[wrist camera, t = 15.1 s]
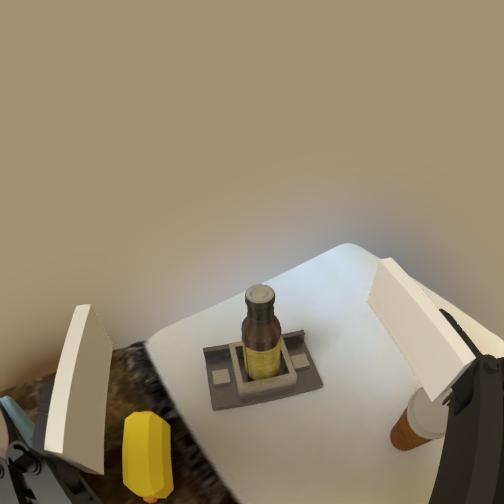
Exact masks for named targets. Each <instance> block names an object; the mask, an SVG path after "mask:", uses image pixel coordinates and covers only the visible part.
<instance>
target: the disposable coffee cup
mask: <svg viewBox="0 0 504 504" xmlns="http://www.w3.org/2000/svg"><path fill="white" fill-rule="evenodd" d="M451 392H452V390H451V389H449V390H448V391H447V392H446V393H445V394H444V395H443V396H441V397H440V398H438V399H436V400H435V401H433V402H432V401H431V400H430V398H429V396H428V395H427V393H426V391H425V390H424V388H423V387H422V388H420V389H418V390H417V391H416V392H415V393H414V394H413V395H412V397H411V398H410V400H409V403H408V407H407V408H406V410H405V411H404V413H403V414H402V416H401V417H400V419H399V420H398V422H397V423H396V425H395V426H394V427H393V429H392V431H391V435H390V437H391V442H392V444H393V445H394V447H396V448H397V449H399V450H402V451H407V450H411V449H413V448H415V447H418V446H420V445H422V444H425V443H427V442H429V441H431V440H433V439H439V438H442V437H444V436H445V433H446V427H447V420H448V411H449V406H446V405H447V404H448V402H449V401H450V400H449V401H448V402H447V403H446V404H445V405H442V403H443V400H444V399H445V398H446V397H447V396H448V395H449V394H450V393H451Z"/></svg>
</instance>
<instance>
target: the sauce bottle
mask: <svg viewBox="0 0 504 504" xmlns="http://www.w3.org/2000/svg"><path fill="white" fill-rule="evenodd" d="M274 301H275V293H274V291H273V289H272V288H271V287H269V286H267V285H262V284H259V285H254V286H252V287H250V288H248V289H247V291H246V293H245V302H246V304H247V308H248V312H247V317H246V318H245V319H244V321H243V323H242V329H241V330H242V344H243V353H244V361H245V369H246V372H247V375H248V378H249V379H250V380H251V381H257V380H262V379H267V378H272V377H276V376H278V373H279V369H280V353H281V326H280V323H279V320H278V319H277V317H276V316H275V315H274V311H273V310H274V306H273V304H274Z"/></svg>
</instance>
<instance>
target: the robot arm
mask: <svg viewBox="0 0 504 504" xmlns="http://www.w3.org/2000/svg"><path fill="white" fill-rule="evenodd" d="M367 303H368V305H369V306H370V307H371V309H372V310H373V312H374V313H375V315H376V316H377V317H378V319H379V320H380V322H381V323H382V325H383V326H384V328H385V329H386V331H387V332H388V333H389V335H390V336H391V338H392V339H393V341H394V342H395V344H396V345H397V347H398V348H399V350H400V351H401V353H402V355H403V356H404V358H405V359H406V361H407V362H408V364H409V365H410V367H411V369H412V370H413V372H414V373H415V375H416V377H417V378H418V380H419V381H420V383H421V385H422V386H423V388H424V390H425V391H426V393H427V395H428V396H429V398H430V400H431V401H432V402H433V401H435V400H436V399H438V398H440V397H441V396H443V395H444V394H445V393H446V392H447V391H448V390H449V389H450V388H451V389H452V392H451V393H450V394H449V395H448V396H447V397H446V398H445V399H444V400H443V403H442V405H445V404H446V403H447V402H448V401H449V400H450V401H449V402H448V404H447V405H446V406H449V411H448V420H447V427H446V433H445V440H444V445H443V450H442V455H441V460H440V465H439V469H438V473H437V477H436V481H435V484H434V488H433V491H432V495H431V498H430V501H429V504H504V357H502V358H497V359H496V358H495V357H494V356H492V355H482V354H481V352H480V351H479V350H478V349H477V347H476V346H475V345H474V343H473V342H472V341H471V339H470V338H469V337H468V336H467V334H466V333H465V332H464V331H462V328H461V327H460V326H459V324H457V322H456V321H455V320H454V318H453V317H452V316H451V315H450V314H449V313H447V312H446V311H444V310H443V309H439V310H438V309H437V307H436V306H435V305H434V304H433V303H432V302H431V300H430V299H429V298H428V297H427V296H426V295H425V294H424V292H423V291H422V290H421V289H420V288H419V287H418V286H417V285H416V284H415V282H414V281H413V280H412V279H411V278H410V277H409V276H408V275H407V274H406V273H405V272H404V271H403V270H402V268H400V266H399V265H398V264H397V263H396V262H395V261H394V260H393V259H392V258H387V259H382V260H379V262H378V266H377V270H376V273H375V277H374V280H373V284H372V287H371V290H370V294H369V297H368V300H367ZM112 349H113V344H112V342H111V340H110V339H109V337H108V335H107V333H106V332H105V330H104V328H103V326H102V324H101V322H100V321H99V319H98V317H97V315H96V313H95V311H94V309H93V307H92V305H91V304H88V305H78V306H76V309H75V312H74V315H73V318H72V321H71V324H70V327H69V330H68V334H67V337H66V340H65V344H64V347H63V351H62V354H61V359H60V362H59V366H58V370H57V374H56V379H55V380H47V382H46V384H45V385H44V387H43V389H42V391H41V396H40V400H39V402H40V404H39V405H38V413H37V416H36V422H35V424H34V423H33V422H32V421H31V420H30V418H29V417H28V416H27V415H26V414H25V412H24V411H23V410H22V409H21V408H20V407H19V406H18V404H17V403H16V402H15V401H14V400H13V399H12V398H10V397H9V396H5V397H3V398H0V504H103V503H102V502H101V501H100V499H99V498H98V497H97V496H96V494H95V493H94V492H93V491H92V489H91V488H90V487H89V485H88V484H87V483H86V481H85V480H84V478H83V477H82V476H81V475H80V474H79V469H80V470H83V471H85V472H87V473H93V474H100V475H104V428H105V411H106V398H107V388H108V379H109V370H110V363H111V356H112Z"/></svg>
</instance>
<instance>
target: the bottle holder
mask: <svg viewBox="0 0 504 504" xmlns="http://www.w3.org/2000/svg"><path fill="white" fill-rule="evenodd" d="M304 336H305V333H304V330H300V331H296V332H291V333H287V334H282V335H281V353H280V369H279V373H278V376H276V377H272V378H267V379H262V380H257V381H251V380H250V379H249V378H248V375H247V372H246V369H245V361H244V353H243V344H242V341H241V342H235V343H229V344H227V345H221V346H214V347H207V348H203V352H204V356H205V360H206V367H207V375H208V382H209V389H210V396H211V402H212V408H213V411H216V410H223V409H230V408H236V407H242V406H247V405H253V404H258V403H263V402H267V401H272V400H277V399H281V398H285V397H289V396H293V395H297V394H301V393H305V392H309V391H312V390H316V389H319V388H322V382H321V380H320V378H319V375H318V373H317V371H316V368H315V366H314V364H313V362H312V359H311V357H310V355H309V352H308V350H307V348H306V346H305V343H304Z"/></svg>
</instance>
